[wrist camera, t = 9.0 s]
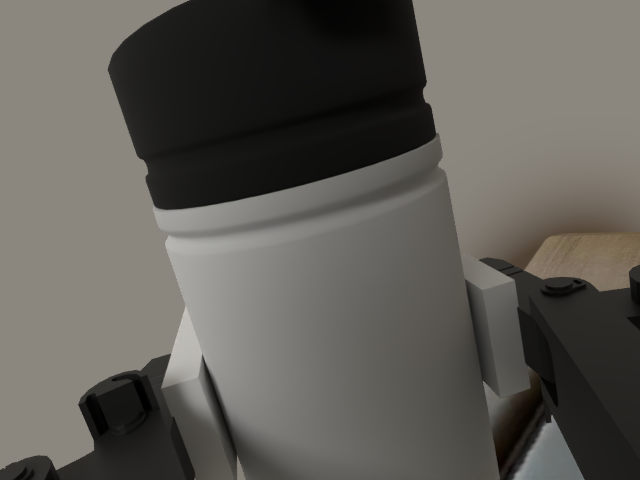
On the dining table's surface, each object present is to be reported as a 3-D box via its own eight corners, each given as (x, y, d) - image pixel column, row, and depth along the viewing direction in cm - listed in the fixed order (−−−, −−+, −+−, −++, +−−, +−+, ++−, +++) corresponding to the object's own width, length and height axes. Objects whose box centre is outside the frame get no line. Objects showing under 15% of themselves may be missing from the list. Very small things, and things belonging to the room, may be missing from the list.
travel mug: (424, 946, 10) (96, -50, 5) (301, 668, 16) (88, 66, 11) (605, 738, 13) (498, -85, 8) (440, 561, 19) (318, 25, 14)
